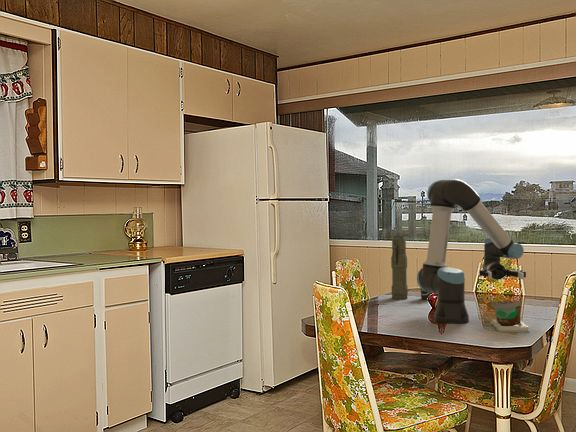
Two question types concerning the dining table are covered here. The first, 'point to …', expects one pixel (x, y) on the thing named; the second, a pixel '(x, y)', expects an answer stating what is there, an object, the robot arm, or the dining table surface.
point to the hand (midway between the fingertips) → (506, 275)
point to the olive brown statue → (399, 268)
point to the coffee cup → (424, 294)
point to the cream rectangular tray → (510, 327)
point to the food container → (507, 312)
